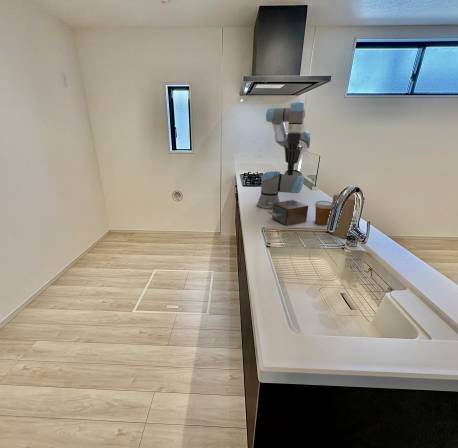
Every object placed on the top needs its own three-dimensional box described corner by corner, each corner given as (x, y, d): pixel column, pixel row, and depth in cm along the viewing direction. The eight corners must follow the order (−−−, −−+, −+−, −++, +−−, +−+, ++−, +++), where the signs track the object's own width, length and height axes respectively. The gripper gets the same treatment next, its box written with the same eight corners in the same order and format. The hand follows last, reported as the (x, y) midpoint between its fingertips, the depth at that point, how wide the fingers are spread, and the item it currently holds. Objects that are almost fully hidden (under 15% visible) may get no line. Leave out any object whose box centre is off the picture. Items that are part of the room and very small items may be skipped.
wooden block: (356, 235, 121) (365, 197, 114) (343, 239, 117) (351, 199, 109) (339, 228, 129) (346, 192, 122) (326, 231, 125) (333, 194, 118)
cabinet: (286, 225, 133) (288, 209, 129) (272, 218, 143) (273, 203, 140) (306, 221, 139) (308, 205, 135) (291, 214, 149) (293, 200, 146)
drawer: (277, 225, 131) (278, 212, 128) (264, 219, 140) (265, 206, 137) (302, 220, 138) (304, 207, 135) (289, 214, 148) (290, 202, 145)
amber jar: (327, 220, 140) (330, 200, 136) (332, 226, 132) (336, 205, 127) (310, 219, 141) (313, 200, 137) (314, 225, 133) (318, 205, 128)
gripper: (281, 132, 138) (277, 173, 147) (297, 133, 127) (292, 177, 136) (291, 132, 141) (287, 172, 150) (308, 133, 130) (302, 176, 139)
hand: (289, 174), depth 143 cm, fingers closed
